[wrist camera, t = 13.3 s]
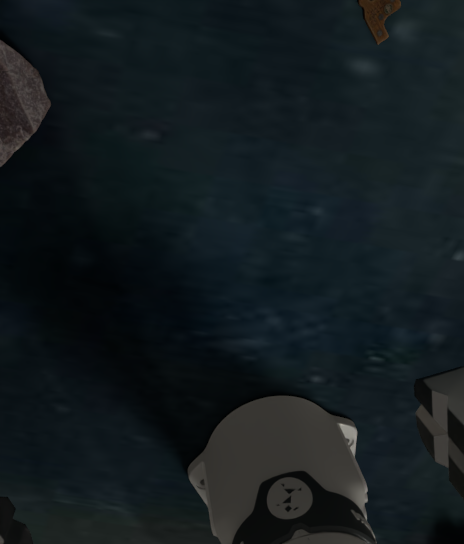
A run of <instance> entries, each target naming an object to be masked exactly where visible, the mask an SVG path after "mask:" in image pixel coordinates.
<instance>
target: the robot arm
mask: <svg viewBox="0 0 464 544" xmlns="http://www.w3.org/2000/svg"><path fill="white" fill-rule="evenodd" d="M414 396H415V397H416V398H417V399H418V401H419V402H420V403H421V405H420V407H419V409H418V410H417V412H416V421H417V428H418V431H419V433H420V436H421V439H422V441H423V443H424V445H425V447H426V449H427V451H428V452H429V453H430V455H431V456H432V458H433V459H434V460H435V461H436V462H438V463H440V464H442V465H444V466H446V467H448V468H449V481H450V482H451V483H452V485H453V486H454V487H455V489H456V490H457V491H458V493H459V494H460V495H461V497H462V498H463V499H464V366H460V367H457V368H454V369H450V370H447V371H443V372H440V373H436V374H433V375H429V376H426V377H423V378H419V379H416V381H415V384H414ZM356 440H357V429H356V427H355V425H354V423H353V422H352V421H351V420H349V419H346V418H343V417H338V416H333V415H331V414H329V413H327V412H326V411H325V410H323V409H322V408H321V407H319V406H318V405H316V404H315V403H313V402H311V401H308V400H306V399H303V398H299V397H294V396H271V397H265V398H261V399H257V400H254V401H252V402H249V403H247V404H245V405H243V406H241V407H239V408H237V409H236V410H234V411H233V412H231V413H230V414H229V415H228V416H226V417H225V418H224V419H223V420H222V421H221V422H220V423H219V425H218V426H217V427H216V429H215V430H214V432H213V433H212V435H211V437H210V439H209V442H208V444H207V446H206V448H205V450H204V451H203V452H202V453H201V454H200V455H199V456H198V457H197V458H196V459H195V460H194V461H193V462H192V463H191V464H190V465H189V467H188V476H189V480H190V482H191V483H192V485H193V486H194V488H195V489H196V490H197V492H198V493H199V495H200V496H201V498H202V499H203V500H204V502H205V503H206V505H207V506H208V510H209V516H210V523H211V529H212V533H213V535H214V536H217V537H218V538H219V540H220V542H221V543H222V544H377V542H376V539H375V536H374V533H373V531H372V529H371V527H370V525H369V524H368V522H367V521H366V520H367V514H366V509H365V506H364V504H365V503H366V502H367V501H368V499H367V494H366V492H367V491H368V489H367V485H366V482H365V480H364V477H363V475H362V473H361V471H360V469H359V466H358V464H357V462H356V460H355V449H356ZM203 479H204V480H203ZM15 509H16V508H15V507H14V505H13V504H12V502H11V501H10V500H9V498H8V497H0V544H33V540H32V536H31V533H30V531H29V530H28V528H27V526H26V524H23V523H21V522H19V521H17V520H14V519H13V516H14V513H15Z"/></svg>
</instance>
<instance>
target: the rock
mask: <svg viewBox="0 0 464 544" xmlns="http://www.w3.org/2000/svg"><path fill="white" fill-rule="evenodd" d="M50 106H51V102H50V100H49V99H48V97H47V95H46V92H45V90H44V87H43V82H42V80H41V77H40V75H39V72H38V70H37V69H35V68H34V67H32V66H31V64H30V63H29V62H28V61H27V60H26V59H24V58H23V57H22V56H21V55H20V54H19V53H18V52H16V51H15V50H14V49H12V48H11V47H10V46H8V45H7V44H5V43H4V42H3V41H1V40H0V167H1V166H2V165H3V164H4V163H5V162H6V161H7V160H8V159H9V158H10V157H11V156H12V154H13V153H14V152H15V151H16V150H18V149H19V148H20V147H21V146H22V145H23V143H24V142H25V141H27V140H28V139H29V138H30V137H31V135H32V134H34V133H35V132H36V131H37V129H38V127H39V125H40V124H41V121H42V120H43V118H44V117H45V115H46V113H47V111H48V109H49V108H50Z"/></svg>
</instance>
